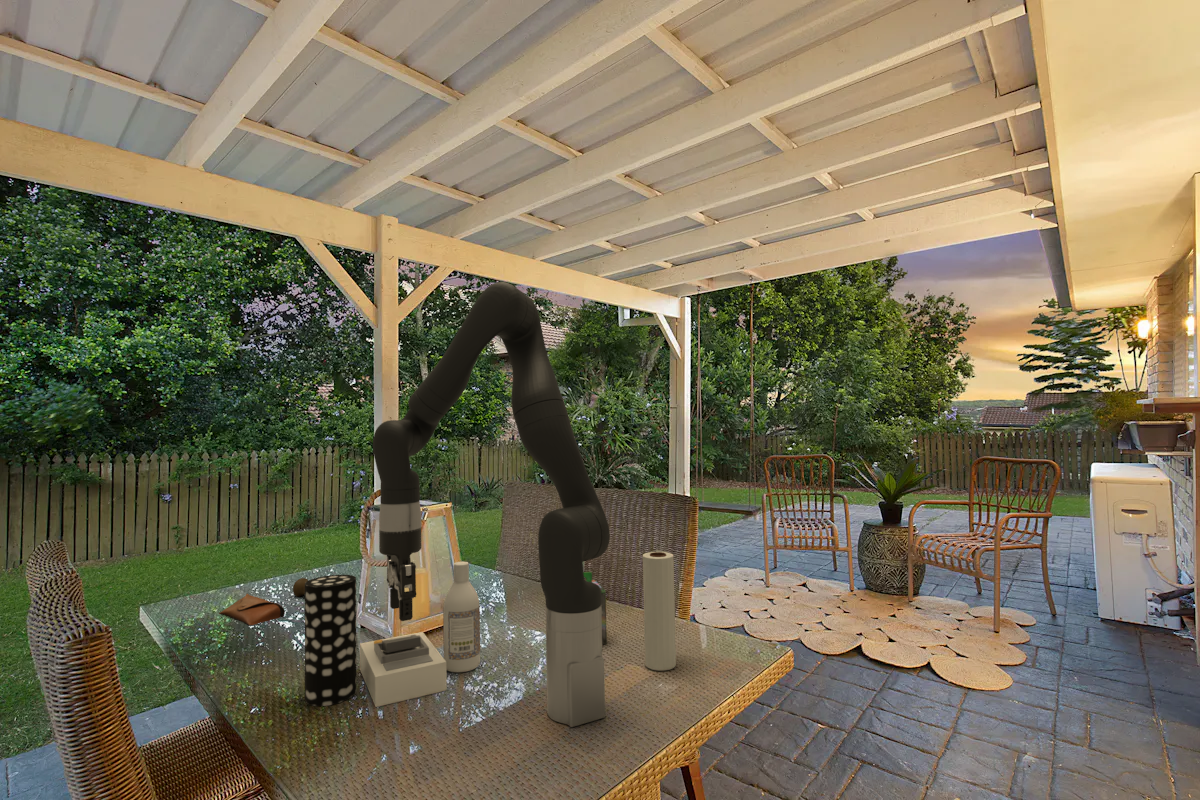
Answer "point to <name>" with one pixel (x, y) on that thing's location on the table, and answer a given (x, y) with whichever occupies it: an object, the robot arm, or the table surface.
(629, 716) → the table surface
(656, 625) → the paper towel roll
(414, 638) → the rocker paddle
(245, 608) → the sunglasses case
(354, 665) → the spotted tube
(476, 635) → the bath foam
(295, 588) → the kendama
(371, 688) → the switch box
